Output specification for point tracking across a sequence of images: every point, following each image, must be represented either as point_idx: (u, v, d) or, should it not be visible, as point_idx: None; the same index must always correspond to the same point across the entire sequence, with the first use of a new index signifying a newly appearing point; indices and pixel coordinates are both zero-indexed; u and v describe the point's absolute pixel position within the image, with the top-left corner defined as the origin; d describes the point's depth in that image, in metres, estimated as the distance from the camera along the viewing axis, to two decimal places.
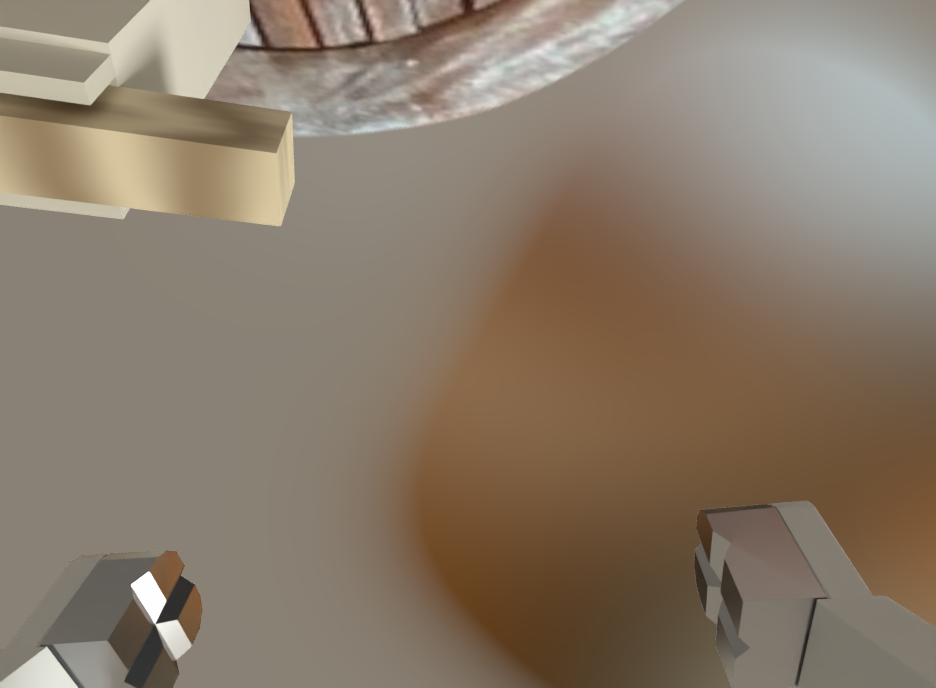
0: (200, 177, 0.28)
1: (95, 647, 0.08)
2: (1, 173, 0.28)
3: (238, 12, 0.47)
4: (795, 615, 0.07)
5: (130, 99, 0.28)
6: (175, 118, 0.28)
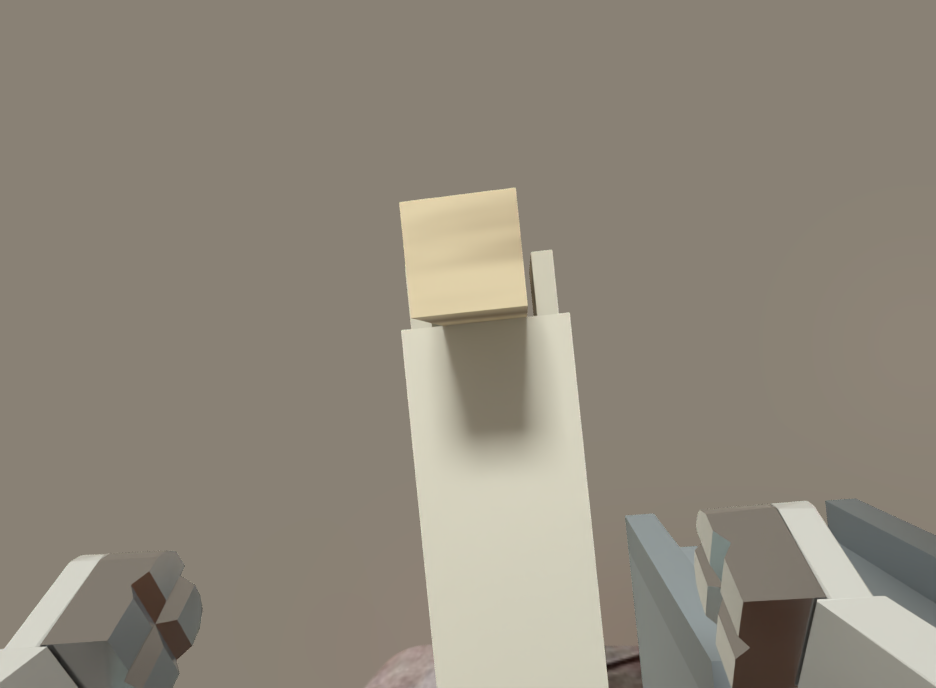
0: None
1: (95, 647, 0.08)
2: None
3: None
4: (795, 615, 0.07)
5: None
6: None
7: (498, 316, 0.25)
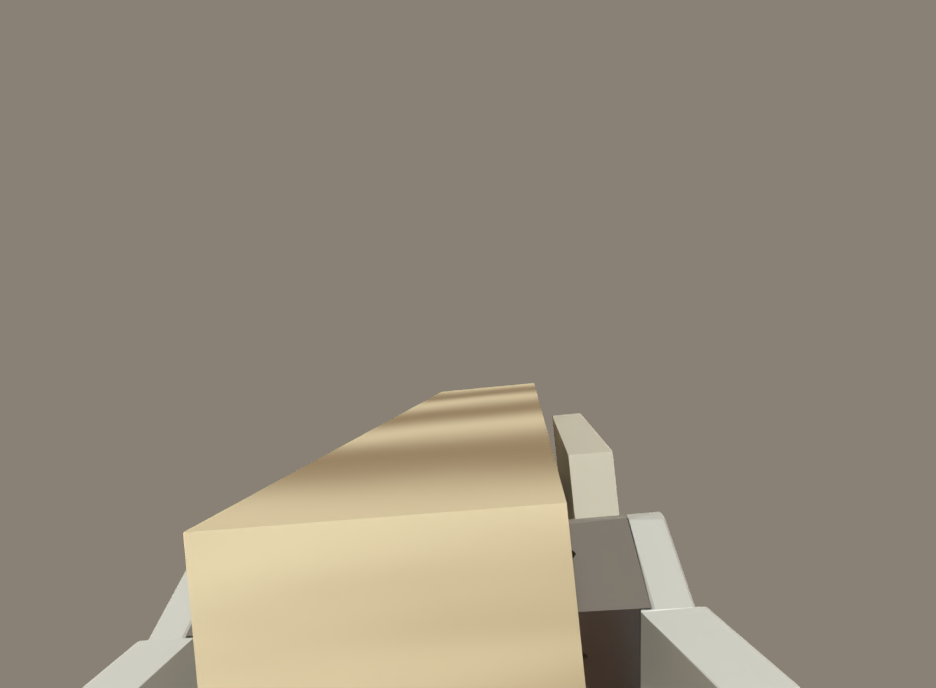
0: (439, 455, 0.10)
1: None
2: (441, 407, 0.19)
3: None
4: (624, 625, 0.07)
5: None
6: None
7: None
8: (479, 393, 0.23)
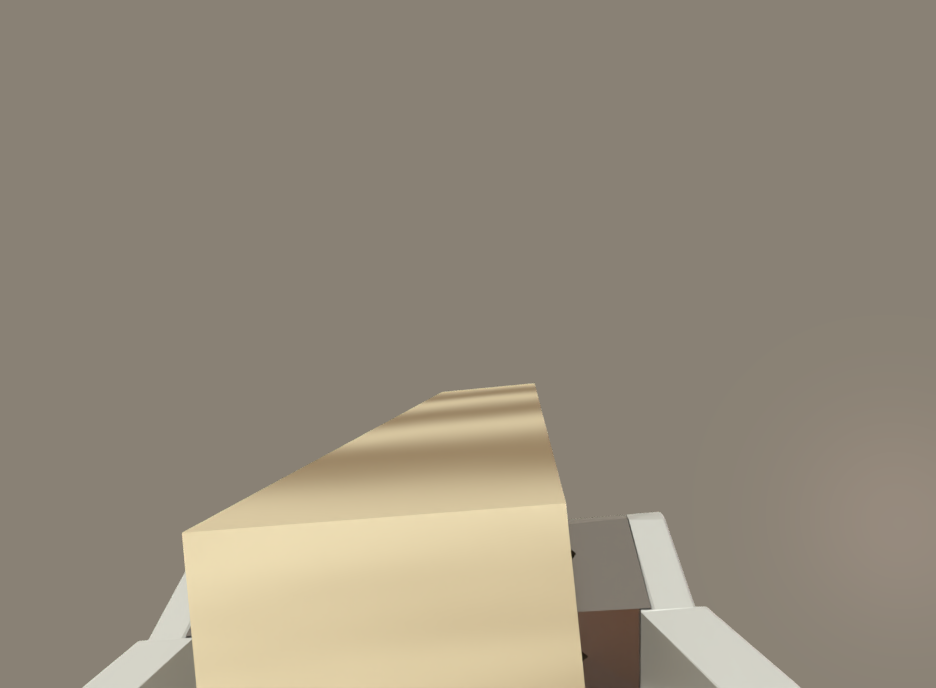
0: (438, 455, 0.10)
1: None
2: (441, 407, 0.18)
3: None
4: (625, 625, 0.07)
5: None
6: None
7: None
8: (479, 393, 0.23)
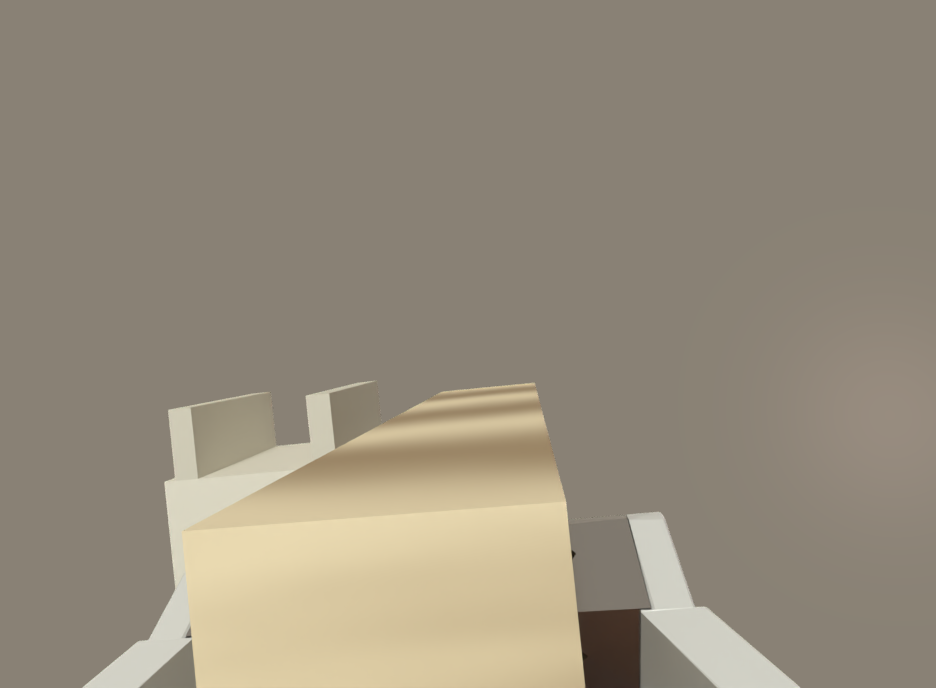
0: (439, 454, 0.10)
1: None
2: (441, 407, 0.18)
3: None
4: (624, 625, 0.07)
5: None
6: None
7: None
8: (479, 393, 0.23)
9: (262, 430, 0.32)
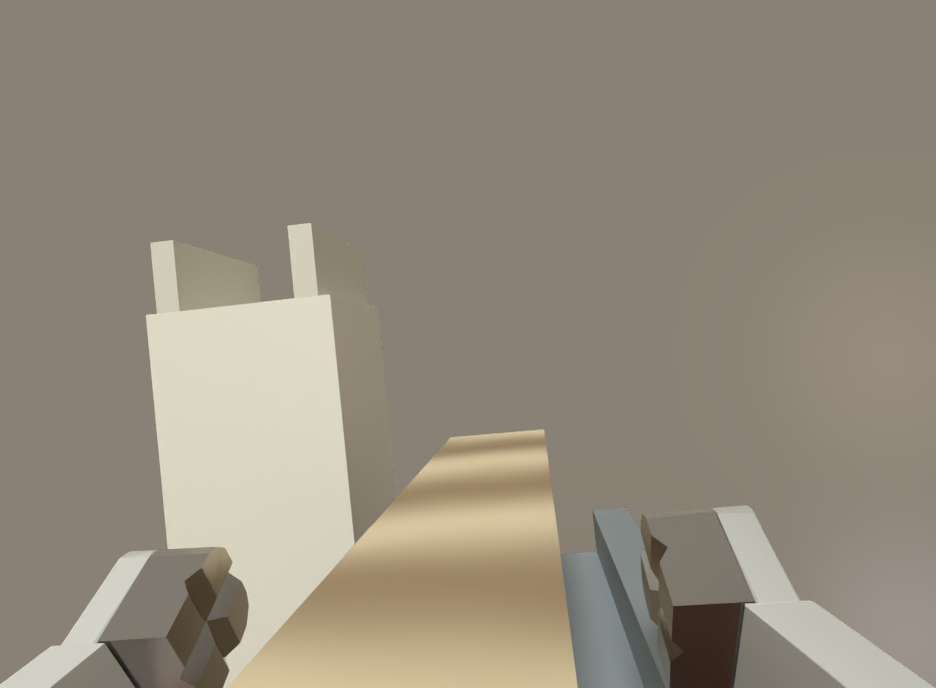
0: (448, 586, 0.09)
1: (153, 644, 0.08)
2: (450, 473, 0.18)
3: None
4: (725, 619, 0.07)
5: None
6: None
7: None
8: (488, 446, 0.23)
9: (247, 297, 0.32)
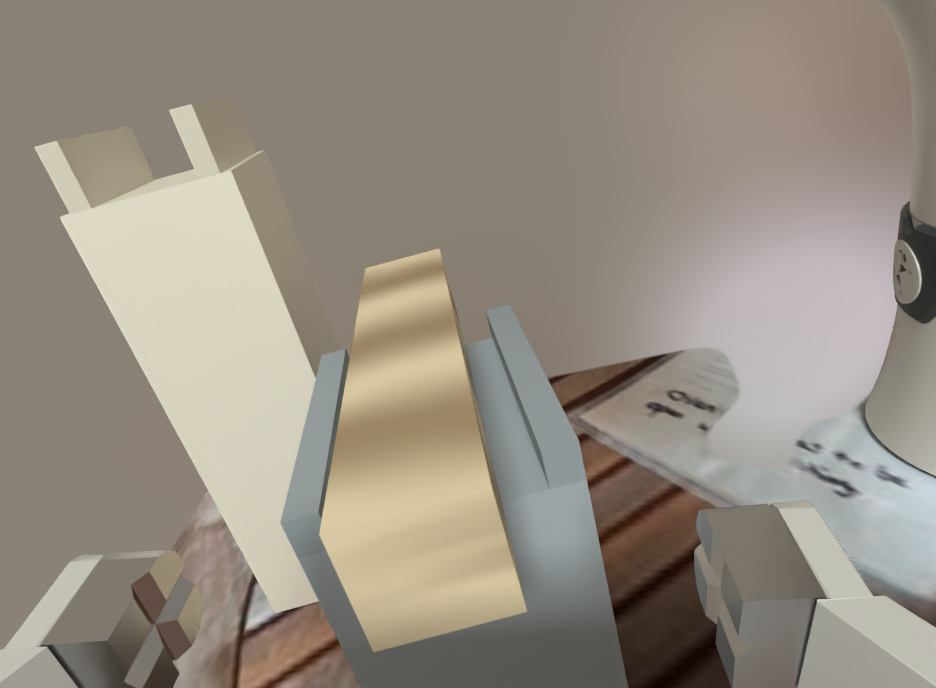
0: (412, 425, 0.17)
1: (95, 647, 0.08)
2: (380, 317, 0.25)
3: (284, 565, 0.37)
4: (795, 615, 0.07)
5: (482, 425, 0.21)
6: (482, 434, 0.19)
7: None
8: (400, 278, 0.29)
9: (135, 164, 0.33)
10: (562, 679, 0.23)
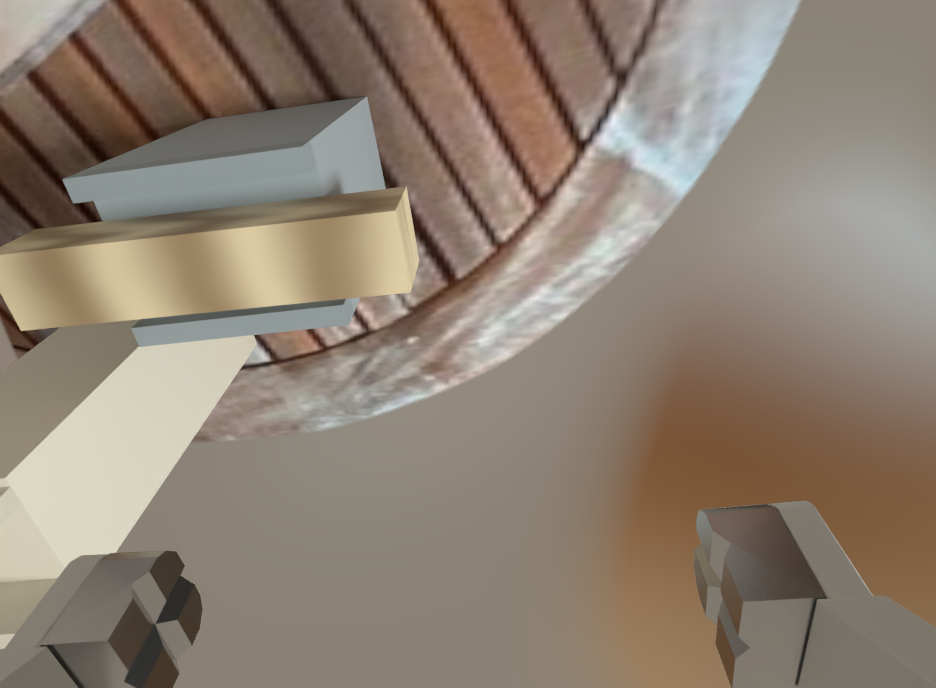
0: (328, 256, 0.28)
1: (95, 647, 0.08)
2: (157, 297, 0.29)
3: (235, 345, 0.49)
4: (795, 615, 0.07)
5: (262, 208, 0.30)
6: (301, 210, 0.29)
7: None
8: (63, 291, 0.29)
9: None
10: (356, 150, 0.38)
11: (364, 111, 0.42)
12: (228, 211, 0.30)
